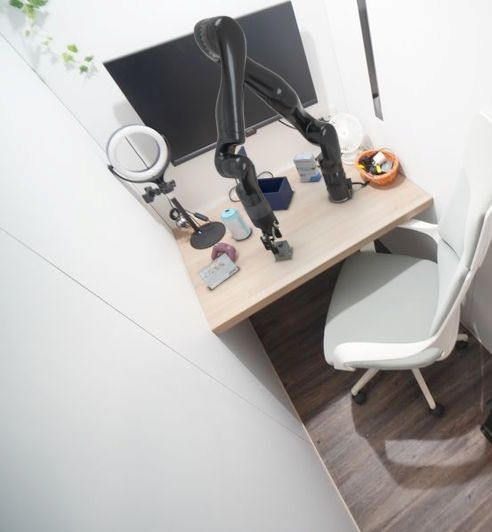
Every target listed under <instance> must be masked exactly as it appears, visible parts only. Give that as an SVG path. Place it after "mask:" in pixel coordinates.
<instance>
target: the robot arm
mask: <svg viewBox="0 0 492 532" xmlns="http://www.w3.org/2000/svg"><path fill="white" fill-rule="evenodd" d="M193 36H194V39H195V42H196V44H197V46H198V48H199V49H200V50H201V51H202V53H203V54H205V56H206V57H207V58H209V59H210V60H211V61H213V62H214V63H215V64H217V65H218V66H219V67H220V71H221V75H220V76H221V77H220V85H219V90H218V93H217V96H216V97H217V98H216V102H215V112H214V113H215V123H216V132H217V139H216V145H215V151H214V156H213V164H214V168H215V171H216V172H217V174H218V175H219V176H221V177H222V178H224V179H232V180H238V183H236V185H235V188H234V191H235V192H234V193H235V194H236V196H237V198H238V200H239V201H240V203H241V205H242V207H243V209H244V211H245V214H246V215H247V217H248V218H249V220H250V221H251V223H252V225H253V226H254V227H255V228H257V229H259V230H260V231H261V234H262V236H259V239H260V241H261V243H262V244H263V246H264V249H265V251H271V253H272V255H273V254H274V255H275V254H279V250H278V248H277V246H276V244H275V242H276V239H282V238H283V234H282V233H281V230H280V226H279V225H280V222H279V220H278V219H277V216H276V215H275V213H274V210H273V211H272V209H271V207H270V205H269V203H268V201H267V200H266V198H265V197H264V195H263V193H262V191H261V189H260V187H259V185H258V179H259V178H258V174H257V170H256V166H255V163H254V162H253V161H252V159H251V158H250V157H249V156H248V155H247V156H245V155H241V154H237V153H236V150H237V147H239V146H243V145H245V143H246V142H247V141H246V139H247V138H246V125H245V114H244V111H245V109H244V96H245V95H244V94H245V86H246V88H248V89H249V90H250V91H251V92H252V93H253V94H254V95H256V96H257V98H259V99H260V100H261V101H262V102H264V103H265V104H266V105H267V106H268V107H269V108H271V110H273V111H274V112H275V114H277V115H279V116H280V117H281V118H283V120H285V121H286V122H288V123H289V124H290V125H292V127H294V128H295V130H296V131H297V132H298V133H300V135H301V136H302V137H303V138H304V139H305V140H306V141H307V142H308V143H309V144H311V145H312V146H315V147H318V148H319V149H320V153H319V154H318V155H317V156H316V157H317V158H316V160H317V163H318V164H317V165H318V167H319V170H320V173H321V176H322V178H323V181H324V184H325V187H326V188H325V189H326V192H327V194H328V196H329V197H328V198H329V200H330V201H331V202H332V203H338V204H339V203H343V202H346V201H348V200H350V199H352V197H351V195H352V194H351V190H353V189H354V188H353V185H361V186H363V187H365V186H367V185H368V184H369V182H370V181H367V180H366V181H365V182H364V183H363V182H361V181H353V180H352V178H351V177H348V176H347V173H346V172H345V168H344V165H343V161H342V157H341V155H342V149H341V144H340V139H339V135H338V132H337V130H336V127H335V126H334V124H332V123H330V122H326V121H323V120H319V119H317V118H315V117H314V116H313V115H311V114H310V113H309V112H308V110H307V111H306V109H305V108H304V107H303V105H302V102H301V100H300V97H299V95H298V94H297V92H296V91H295V90H294V88H293V87H292V86H291V85H290V84H289V83H287V81H286V80H285V79H284V78H283V77H281V76H280V75H279V74H277V73H275V72H274V71H272V70H271V69H269V68H267V67H265V66H263V65H262V64H260V63H258V62H257V61H255V60H253V59H252V58H250V57H249V56H248V55H247V51H248V50H247V39H246V33H245V32H244V29H243V28H242V26H241V25H240V24H239V22H238V21H237V20H235V19H234V18H233V17H231V16H230V15H229V16H228V15H216V16H212V17H207V18H203V19H201V20H199V21H197V22H196V23H195V24H194V27H193ZM239 181H240V182H239ZM274 255H273V256H274Z"/></svg>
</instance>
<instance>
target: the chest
mask: <svg viewBox="0 0 492 532" xmlns="http://www.w3.org/2000/svg"><path fill="white" fill-rule="evenodd" d="M257 179H258V185H259V187H260V189H261V191H262V193H263V195H264V197H265V198H266V200H267V201H268V203H269V205H270V207H271V209H272V211H273V212H274V211H284V210H288V208H289V206H290V203H291V201H292V198H293V195H294V191H293V188H292V185H291V184H290V182H289V180H288V176H287V175H286V176H274V177H263V178H257Z"/></svg>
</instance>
